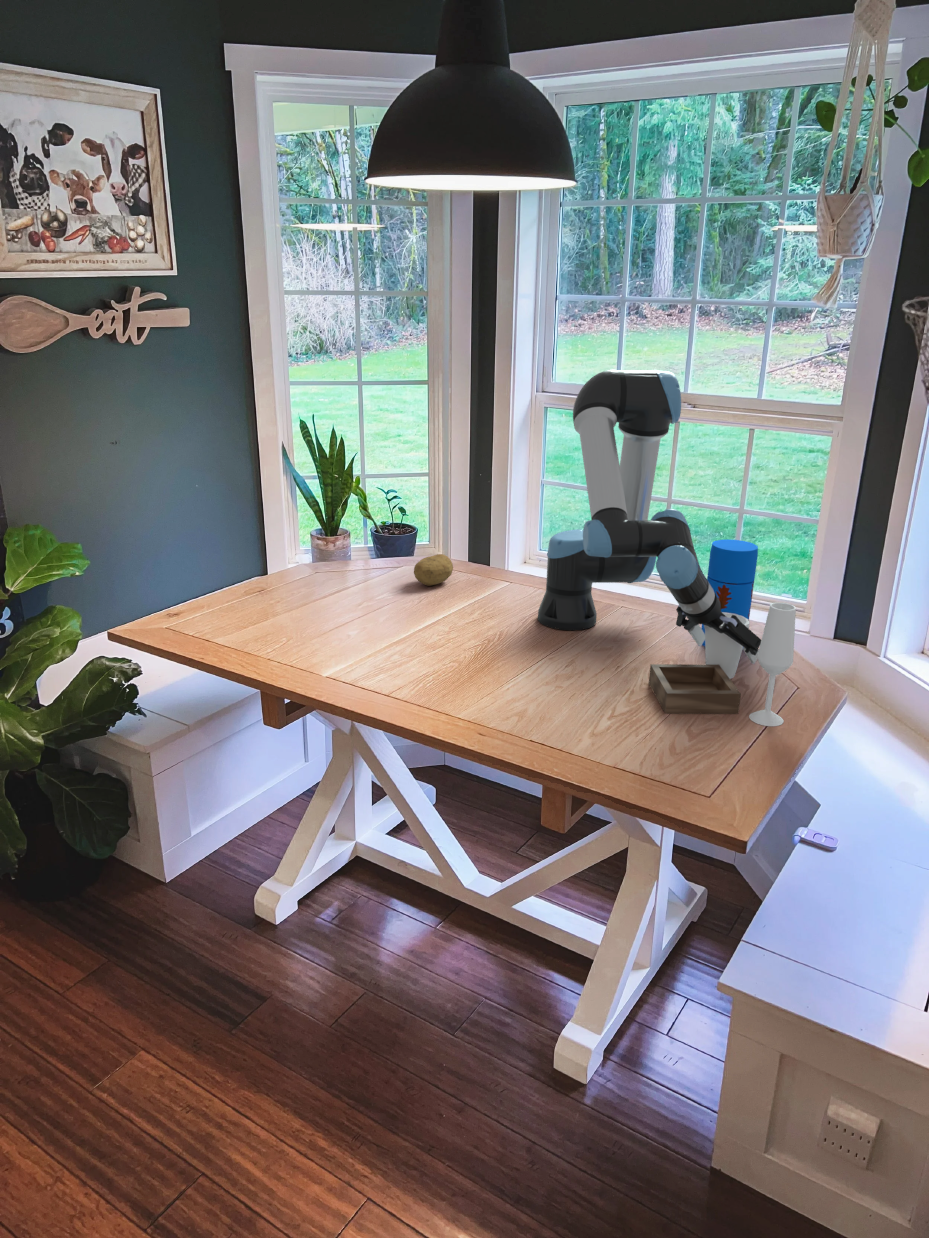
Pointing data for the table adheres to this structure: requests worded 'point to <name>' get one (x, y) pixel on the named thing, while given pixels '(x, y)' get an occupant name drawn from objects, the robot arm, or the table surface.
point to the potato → (433, 569)
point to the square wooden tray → (694, 689)
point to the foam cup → (723, 648)
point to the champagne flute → (775, 654)
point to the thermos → (733, 575)
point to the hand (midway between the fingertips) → (728, 649)
